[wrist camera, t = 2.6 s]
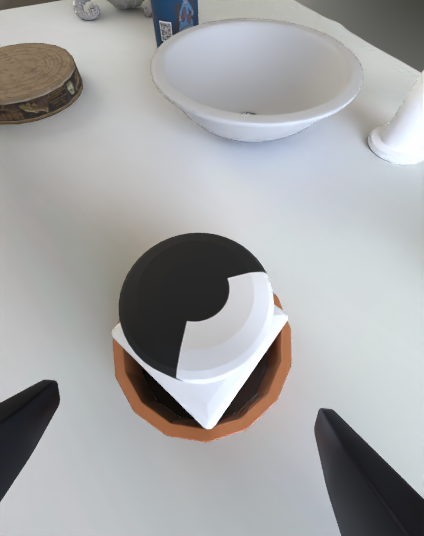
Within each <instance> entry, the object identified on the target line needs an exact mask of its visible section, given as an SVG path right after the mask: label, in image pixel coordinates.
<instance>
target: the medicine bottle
mask: <svg viewBox="0 0 424 536" xmlns="http://www.w3.org/2000/svg"><path fill="white" fill-rule="evenodd" d="M119 318H120V323H119V324H118V325H117V326H116V327H115V328H114V329H113V330H112V336H113V338H114V339H115V340H116V341H117V342H118V343H119V344H120V345H121V346H122V347H123V348H124V349H125V350H126V351H127V352H128V353H129V354H130V355H131V356H132V357H133V358H134V359H135V360H136V361H137V362H138V363H139V364H140V365H141V366H142V367H143V368H144V369H145V370H146V371H147V372H148V373H149V374H150V375H151V376H152V377H153V378H154V379H155V380H156V381H157V382H158V383H159V384H160V385H161V386H162V387H163V388H164V389H165V390H166V391H167V392H168V393H169V394H170V395H171V396H172V397H173V398H174V399H175V400H176V401H177V402H178V403H179V404H180V405H181V406H182V407H183V408H184V409H185V410H186V411H187V412H188V413H190V414H191V415H192V416H193V417H194V418H195V419H196V420H197V421H198V422H199V423H200V424H201V425H202V426H203V427H204V428H206V429H212V428H213V427H214V426H215V425H216V423H217V422H218V420H219V419H220V417H221V416H222V415H223V413H224V412H225V410H226V409H227V407H228V406H229V404H230V403H231V401H232V400H233V399H234V397H235V396H236V394H237V393H238V391H239V390H240V388H241V387H242V386H243V384H244V383H245V381H246V380H247V378H248V377H249V375H250V374H251V372H252V371H253V370H254V368H255V367H256V365H257V364H258V362H259V361H260V359H261V358H262V357H263V355H264V354H265V352H266V351H267V349H268V348H269V346H270V345H271V343H272V342H273V341H274V339H275V338H276V336H277V335H278V333H279V332H280V330H281V329H282V328H283V326H284V325H285V323H286V322H287V319H288V316H287V314H286V312H284V311H283V310H282V309H280V308H279V307H277V306H276V305H275V304H274V299H273V291H272V287H271V283H270V280H269V278H268V275H267V273H266V271H265V270H264V268H263V266H262V265H261V263H260V262H259V261H258V260H257V258H256V257H255V256H254V255H253V254H252V253H251V252H250V251H248V250H247V249H246V248H244V247H243V246H242V245H240V244H238V243H237V242H235V241H233V240H230V239H228V238H226V237H222V236H219V235H215V234H209V233H188V234H183V235H178V236H175V237H171V238H169V239H166V240H164V241H162V242H160V243H158V244H157V245H155V246H153V247H152V248H150V249H149V250H148V251H146V252H145V253H144V254H143V255H142V256H141V257H140V258H139V259H138V260H137V261H136V263H135V264H134V265H133V266H132V268H131V270H130V271H129V273H128V274H127V276H126V279H125V281H124V283H123V286H122V290H121V293H120V299H119Z"/></svg>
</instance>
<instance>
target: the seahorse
mask: <svg viewBox="0 0 424 536" xmlns="http://www.w3.org/2000/svg"><path fill="white" fill-rule="evenodd" d="M87 1H90V0H73V6H74V10H75V12H76V14H77V15H78V16H79V17H81V18H82V19H85V20H93V19H95V18H98V16H99V15H100V8H99V6H98V5H94V4H91V5H89V7H88V9H89V11H90V12H91V13H92V11H91V9H95V12H93V13H92V14H90V13H89V14H87V13H86V12H84V9H83V5H85V3H86V2H87ZM108 1H109V2H110V3H111V4H113V5H114V6H115V7H124V8H125V9H127V8H128V7H130V8H133V9H135V8H136V7H139V6H141V4H142V2H143V1H145V0H108ZM143 11H144V14H145V16H148V17H150V15H151V14H152V10H151V4H150V0H148V1H147V3H146V5H145V7H144V9H143Z"/></svg>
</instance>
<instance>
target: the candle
mask: <svg viewBox="0 0 424 536" xmlns="http://www.w3.org/2000/svg"><path fill="white" fill-rule="evenodd" d="M368 145H369V147H370V148H371V150H372V151H373V152H374V153H375V154H376V155H377V156H379V157H380V158H382V159H384V160H386V161H389V162H392V163H395V164H401V165H411V164H416V163H419V162H421V161H423V160H424V71H423V72H422V74H421V75H420V77H419V78H418V80H417V81H416V83H415V84H414V86H413V87H412V89H411V90H410V92H409V94H408V95H407V97H406V98H405V100H404V101H403V103H402V104H401V106H400V107H399V109H398V111H397V112H396V114H395V115H394V117H393V118H392V120H391V121H390V123H389V124H385V125H380V126H378V127H376V128H374V129H373V130H372V132H371V133H370V135H369V137H368Z"/></svg>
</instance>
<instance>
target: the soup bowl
mask: <svg viewBox="0 0 424 536" xmlns="http://www.w3.org/2000/svg"><path fill="white" fill-rule="evenodd" d="M151 76H152V79H153V81H154V83H155V85H156V87H157V88H158V90H159V91H160V93H161V94H162V95H163V96H164V97H165V98H167V99H168V100H169V101H170V102H172V103H173V104H175V105H176V106H178V107H179V108H181V109H182V110H183V112H184V113H185V114H186V115H187V116H188V117H189V118H190V119H192V120H193V121H194V122H195V123H197V124H198V125H199V126H201V127H202V128H204V129H206V130H208V131H210V132H211V133H214V134H216V135H218V136H221V137H224V138H228V139H231V140H236V141H243V142H265V141H272V140H277V139H281V138H285V137H287V136H290V135H293V134H295V133H298V132H300V131H302V130H304V129H305V128H307V127H309V126H311V125H312V124H314V123H315V122H316V121H318V120H320V119H323V118H325V117H328V116H330V115H332V114H334V113H336V112H338V111H340V110H341V109H343V108H344V107H345V106H347V105H348V104H349V103H350V102H351V101H352V100H353V99H354V98H355V96H356V95H357V94H358V92H359V90H360V88H361V85H362V82H363V69H362V66H361V64H360V62H359V60H358V58H357V57H356V56H355V54H354V53H353V52H352V51H351V50H350V49H349V48H347V47H346V46H345V45H344V44H342V43H341V42H339V41H338V40H336V39H334V38H333V37H331V36H329V35H327V34H325V33H322V32H320V31H317V30H315V29H312V28H309V27H306V26H302V25H298V24H294V23H290V22H284V21H278V20H269V19H252V18H244V19H228V20H219V21H213V22H208V23H204V24H200V25H197V26H194V27H191V28H188V29H185V30H183V31H181V32H179V33H177V34H175V35H173V36H172V37H170V38H169V39H167V40H166V41H165V42H163V43H162V44H161V45H160V46H159V47H158V49H157V50H156V51H155V53H154V55H153V57H152V61H151ZM245 112H250V113H253V114H255V115H253V114H242V113H245Z"/></svg>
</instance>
